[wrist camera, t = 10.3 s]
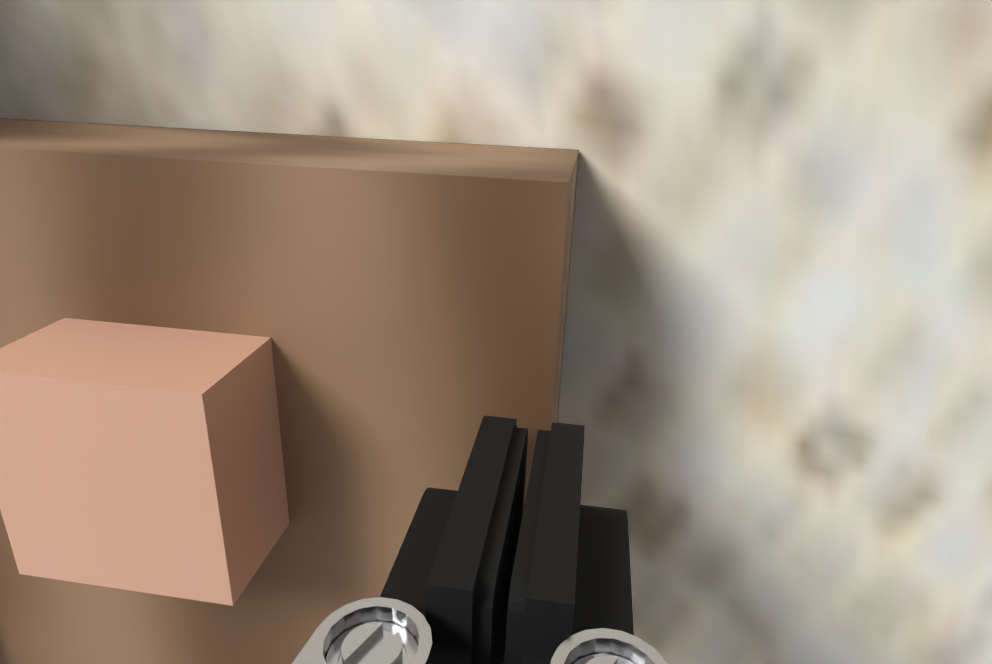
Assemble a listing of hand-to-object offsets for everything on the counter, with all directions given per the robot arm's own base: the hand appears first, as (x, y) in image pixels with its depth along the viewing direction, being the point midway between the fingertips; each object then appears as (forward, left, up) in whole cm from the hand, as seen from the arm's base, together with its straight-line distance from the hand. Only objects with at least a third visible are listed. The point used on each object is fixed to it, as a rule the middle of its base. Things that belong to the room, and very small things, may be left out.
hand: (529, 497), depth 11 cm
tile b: (+7, 0, -1) cm, 7 cm away
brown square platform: (+6, +2, -5) cm, 8 cm away
